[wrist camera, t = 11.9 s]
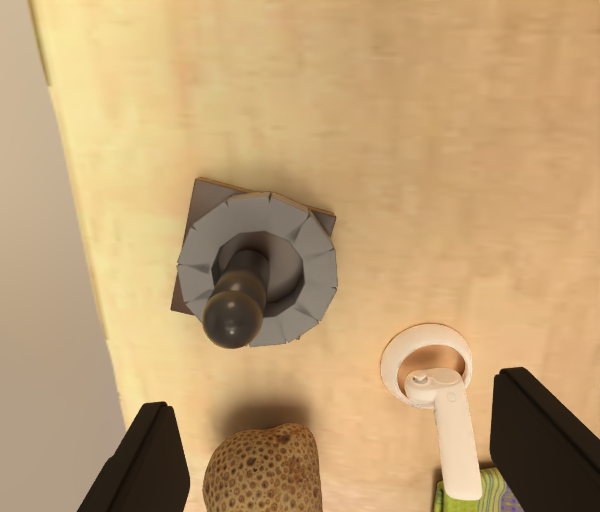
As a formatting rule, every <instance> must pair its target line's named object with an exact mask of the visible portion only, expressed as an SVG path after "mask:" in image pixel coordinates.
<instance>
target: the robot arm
mask: <svg viewBox="0 0 600 512" xmlns="http://www.w3.org/2000/svg"><path fill="white" fill-rule="evenodd" d="M490 455H491V458H492V461H493V463H494V464H495V466H496V468H497V469H498V471H499V472H500V474H501V475H502V477H503V479H504V480H505V482H506V483H507V485H508V487H509V488H510V490H511V491H512V493H513V495H514V496H515V498H516V499H517V501H518V502H519V504H520V506H521V507H522V509H523V510H524V512H600V440H599V439H598V438H597V437H596V436H595V435H594V434H593V433H592V432H591V431H590V430H589V429H588V428H587V427H586V426H585V425H584V424H583V423H582V422H581V421H580V420H579V419H578V418H577V417H576V416H575V415H574V414H572V413H571V412H570V411H569V410H568V409H567V408H566V407H565V406H564V405H563V404H562V403H561V402H560V401H559V400H558V399H557V398H556V397H555V396H554V395H553V394H552V393H551V392H550V391H549V390H548V389H547V388H545V387H544V386H543V385H542V384H541V383H540V382H539V381H538V380H537V379H536V378H535V377H534V376H533V375H532V374H531V373H530V372H529V371H528V370H527V369H525V368H524V367H515V368H505V369H501V370H500V372H499V374H498V375H495V377H494V388H493V403H492V419H491V434H490ZM189 490H190V475H189V471H188V467H187V463H186V459H185V455H184V450H183V446H182V442H181V438H180V434H179V430H178V426H177V421H176V417H175V413H174V409H173V407H172V406H167V404H166V402H164V401H163V402H153V403H145V404H143V405H142V407H141V409H140V410H139V412H138V414H137V415H136V417H135V419H134V421H133V422H132V424H131V426H130V428H129V429H128V431H127V433H126V435H125V437H124V438H123V440H122V441H121V444H120V445H119V447H118V449H117V450H116V452H115V454H114V455H113V456H112V457H111V458H109V459H108V460H107V462H106V463H105V465H104V466H103V468H102V470H101V471H100V473H99V475H98V477H97V478H96V480H95V482H94V483H93V485H92V487H91V488H90V490H89V492H88V494H87V495H86V497H85V499H84V500H83V502H82V504H81V505H80V507H79V509H78V510H77V512H183V510H184V507H185V504H186V500H187V497H188V494H189Z"/></svg>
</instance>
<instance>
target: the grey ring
mask: <svg viewBox="0 0 600 512" xmlns="http://www.w3.org/2000/svg"><path fill="white" fill-rule="evenodd" d="M259 231H266V232H269V233H271V234H273V235H276V236H278V237H280V238H282V239H285V240H287V241H288V242H289V243H290V244H291V246H292V247H293V248H294V250H295V251H296V252H297V254H298V255H299V256H300V258H301V259H302V262H303V274H302V276H301V278H300V280H299V282H298V284H297V286H296V288H295V291H293V292H292V293H290V294H289V295H287V296H286V297H284V298H283V299H281V300H280V301H278V302H277V303H268V304H265V310H264V316H263V322H262V326H261V329H260V331H259V333H258V335H257V336H256V338H255V339H254V340H253V341H252V342H250V343H249V346H250V347H257V346H267V345H277V344H286V340H287V342H288V343H289V342H291V341H292V340H294V339H296V338H297V337H299V336H300V335H302V334H303V333H305V332H306V331H308V330H309V329H311V328H312V327H314V326H316V325H317V324H318V323H319V322H318V320H319V321H321V320H322V318H323V316H324V314H325V312H326V310H327V308H328V306H329V304H330V302H331V301H332V299H333V297H334V295H335V293H336V291H337V288H336V287H338V281H337V267H336V252H335V249H334V246H333V243H332V241H331V239H330V237H329V236H328V234H327V233H326V231H325V230H324V229H323V227H322V226H321V224H320V223H319V221H318V220H317V219H316V217H315V216H314V214H313V213H312V212H311V210H308V208H307V207H306V206H303V205H301V204H299V203H297V202H295V201H292V200H290V199H288V198H286V197H284V196H281V195H279V194H277V193H275V192H273V193H272V196H271V192H270V191H269V192H259V193H249V194H239V195H233V196H232V197H228V198H227V199H225V200H224V201H223V202H221V203H220V204H219V205H217V206H216V207H215V208H213V209H212V210H211V211H209V212H208V213H207V214H205V215H204V216H203V217H201V218H200V219H199V220H197V221H196V222H195V223H194V224H193V226H192V227H191V228H190V229H189V232H188V235H187V237H186V240H185V243H184V245H183V248H182V250H181V253H180V256H179V258H178V261H177V263H179V264H178V265H177V270H178V275H179V280H180V285H181V290H182V295H183V300H184V302H187V303H186V306H187V307H188V308H189V309H190V310H191V311H192V313H193V314H194V315H195V316H196V317H197V318H198V319H199V320H200V322H201V323H202V313H203V310H204V307H205V305H206V303H207V301H208V299H209V297H210V295H211V294H212V292H213V290H214V288H215V286H216V284H217V282H218V281H219V279H220V277H221V274H220V268H219V262H218V258H219V255H220V253H221V250H222V248H223V245H224V244H226V243H227V242H229V241H230V240H231V239H233V238H234V237H236V236H237V235H238V234H240V233H249V232H259ZM247 345H248V344H247ZM247 345H246V346H247Z"/></svg>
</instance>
